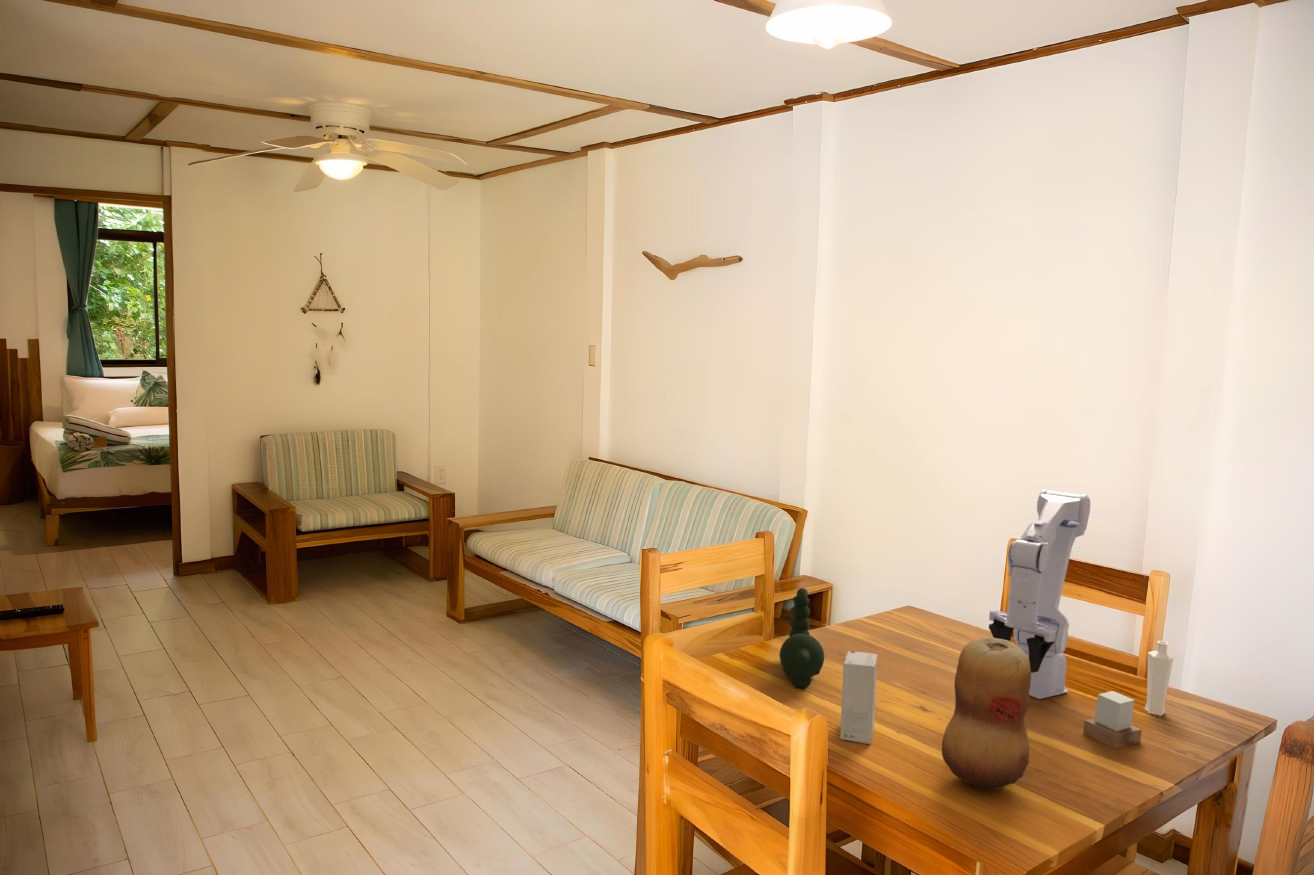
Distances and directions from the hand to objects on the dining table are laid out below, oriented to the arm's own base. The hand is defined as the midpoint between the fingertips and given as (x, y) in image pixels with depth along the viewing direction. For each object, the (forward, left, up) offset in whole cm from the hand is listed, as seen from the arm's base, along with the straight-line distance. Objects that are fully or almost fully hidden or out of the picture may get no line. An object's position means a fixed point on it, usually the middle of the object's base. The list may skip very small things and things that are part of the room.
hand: (1017, 664), depth 180 cm
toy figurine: (+29, -33, -10) cm, 45 cm away
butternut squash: (+30, +19, -10) cm, 37 cm away
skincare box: (+37, -5, -10) cm, 39 cm away
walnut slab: (-8, +16, -10) cm, 21 cm away
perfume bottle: (-28, +12, -10) cm, 32 cm away
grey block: (-8, +16, -7) cm, 19 cm away
